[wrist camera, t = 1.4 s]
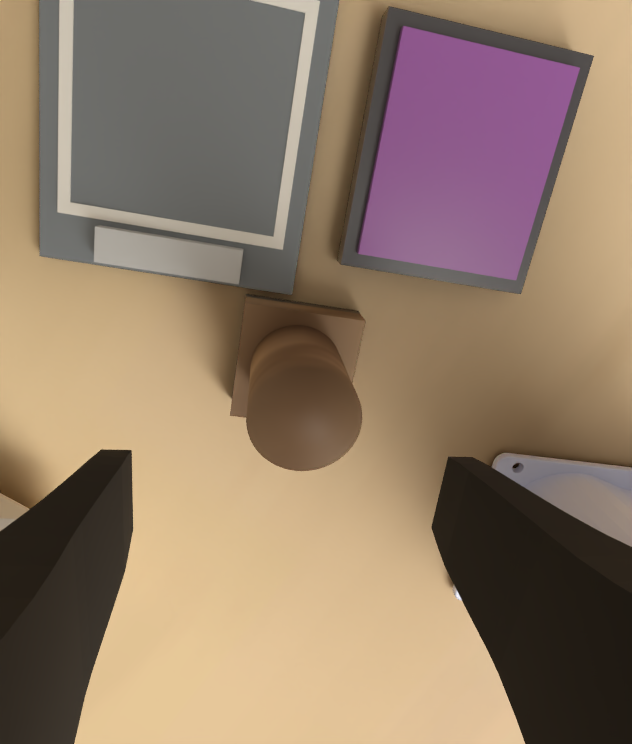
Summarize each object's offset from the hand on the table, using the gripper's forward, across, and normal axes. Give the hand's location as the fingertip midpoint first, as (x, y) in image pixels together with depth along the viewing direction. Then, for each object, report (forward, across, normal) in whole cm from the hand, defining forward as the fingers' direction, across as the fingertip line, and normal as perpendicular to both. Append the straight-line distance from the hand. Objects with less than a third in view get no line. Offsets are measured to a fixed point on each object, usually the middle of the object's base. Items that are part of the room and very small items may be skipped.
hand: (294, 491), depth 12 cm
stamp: (+10, -1, 0) cm, 10 cm away
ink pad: (+10, -6, -8) cm, 14 cm away
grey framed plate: (+10, +3, -8) cm, 13 cm away
